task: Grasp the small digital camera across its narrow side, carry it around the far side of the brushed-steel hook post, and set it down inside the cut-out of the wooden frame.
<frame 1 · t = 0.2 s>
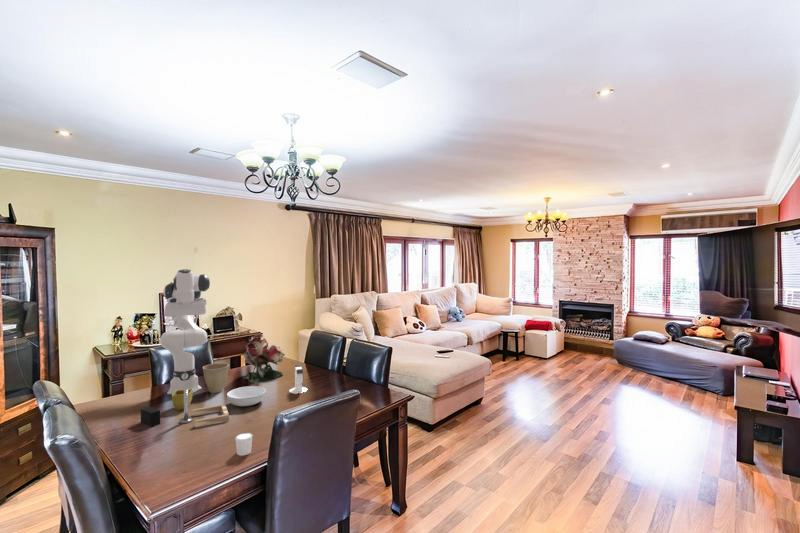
hand: (185, 323, 213), 47 cm above the table, fingers open, 8 cm apart
white post stand: (298, 391, 243), on the table
shot glass: (244, 452, 165), on the table
serving bowl: (246, 403, 221), on the table
plant pot: (216, 391, 241), on the table
flower pot: (182, 408, 214), on the table
hook post: (186, 421, 196), on the table
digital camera: (151, 423, 194), on the table
rose bouquet: (261, 376, 273), on the table
wooden frame: (208, 418, 200), on the table
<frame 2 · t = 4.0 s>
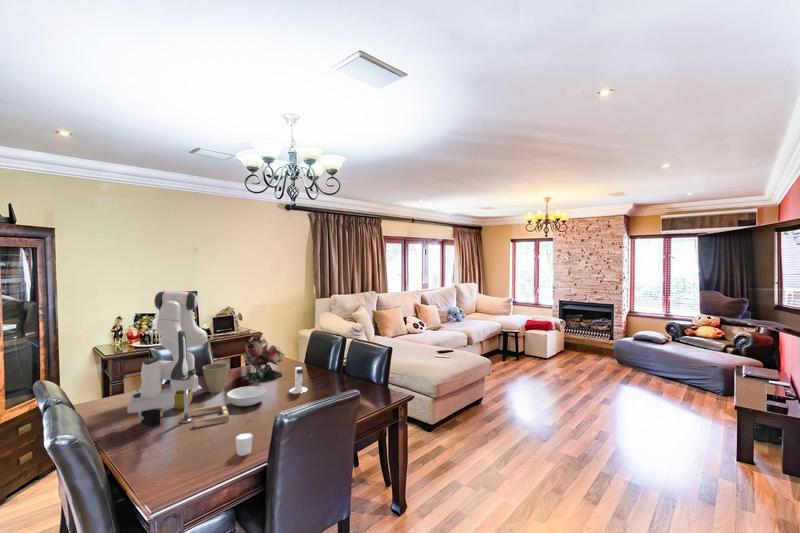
hand: (151, 417, 194), 2 cm above the table, fingers open, 6 cm apart
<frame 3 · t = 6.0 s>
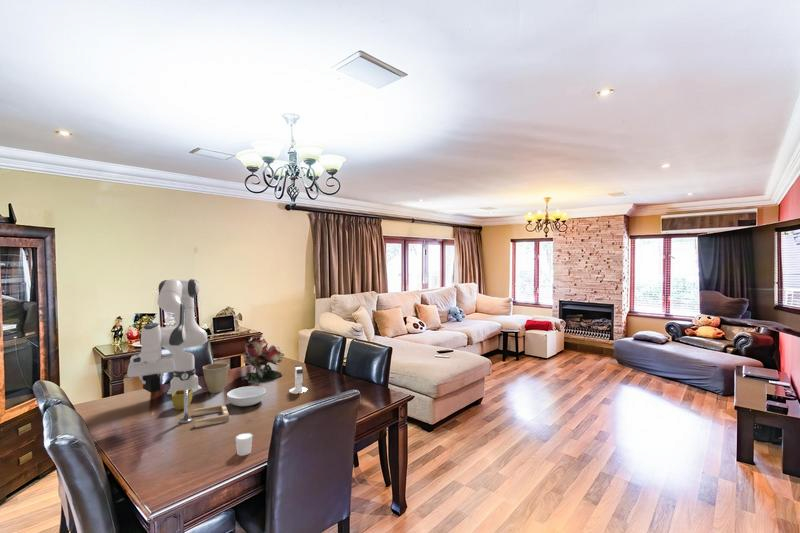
hand: (151, 382, 194), 20 cm above the table, fingers closed on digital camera, 5 cm apart
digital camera: (153, 389, 194), point 17 cm above the table, touching gripper
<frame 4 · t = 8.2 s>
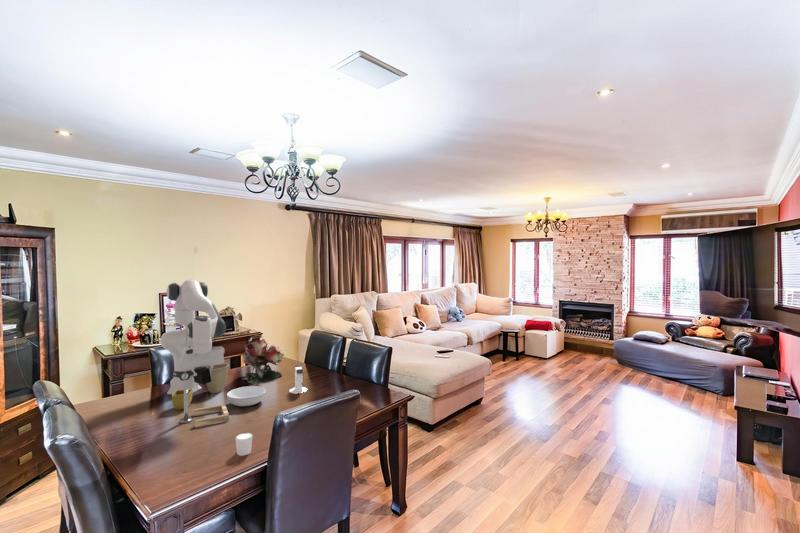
hand: (202, 374, 196), 24 cm above the table, fingers closed on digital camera, 5 cm apart
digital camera: (204, 381, 196), point 20 cm above the table, touching gripper
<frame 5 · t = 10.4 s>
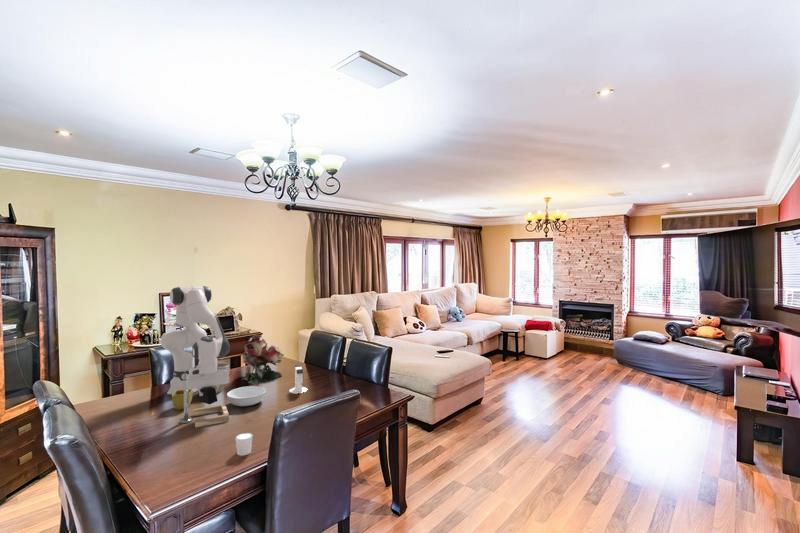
hand: (208, 394, 199), 13 cm above the table, fingers closed on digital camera, 5 cm apart
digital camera: (210, 401, 200), point 9 cm above the table, touching gripper
when the fingers open (4 cm above the table, at t = 12.2 s): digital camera moves 3 cm, on the table.
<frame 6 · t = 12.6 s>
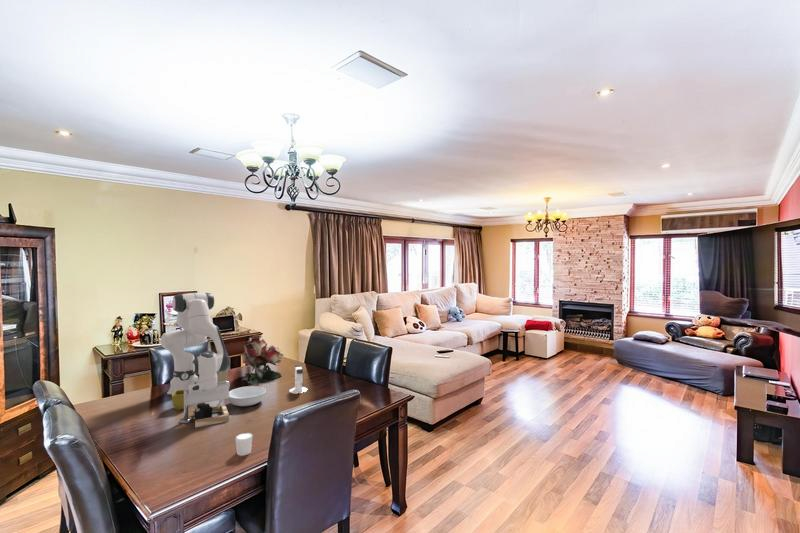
hand: (208, 409, 200), 5 cm above the table, fingers open, 8 cm apart
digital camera: (204, 419, 198), on the table, touching gripper
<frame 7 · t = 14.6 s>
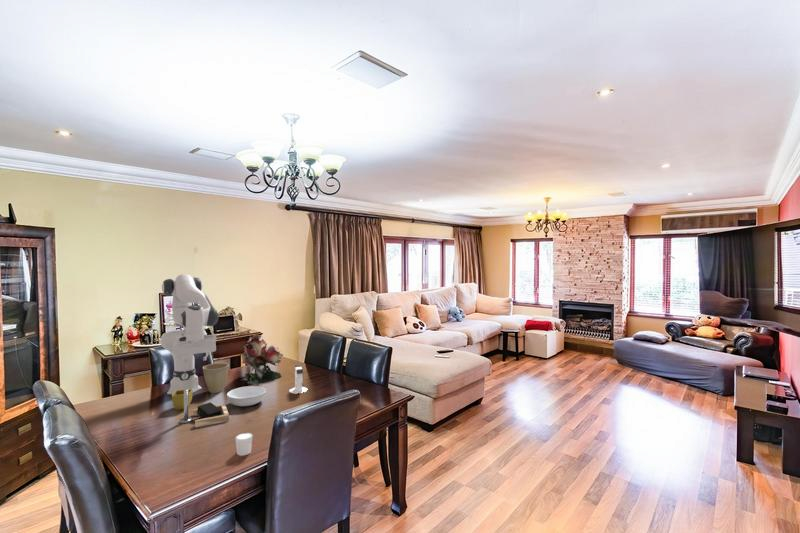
hand: (195, 361, 204), 29 cm above the table, fingers open, 8 cm apart
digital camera: (202, 415, 197), point 3 cm above the table
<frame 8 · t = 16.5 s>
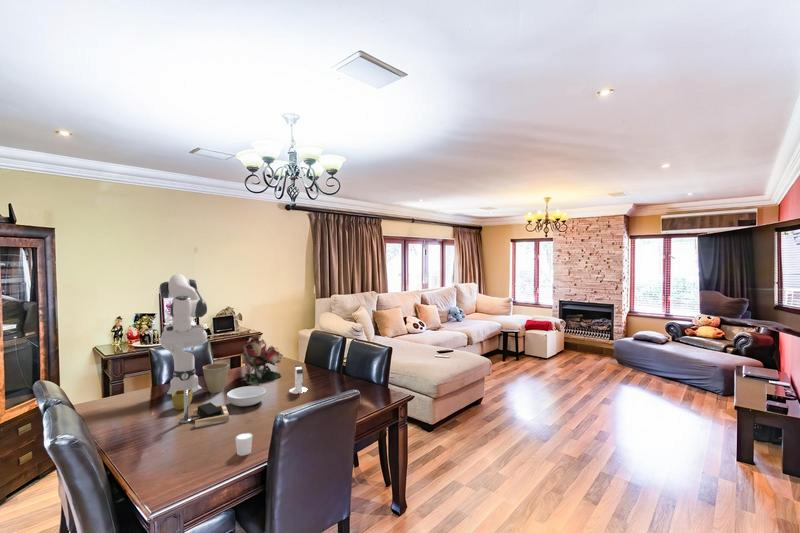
hand: (182, 351, 208), 33 cm above the table, fingers open, 8 cm apart
at the end: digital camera inside the target area on the wooden frame (3.3 cm from its centre), point 2.5 cm above the wooden frame's base; the gripper is holding nothing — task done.
